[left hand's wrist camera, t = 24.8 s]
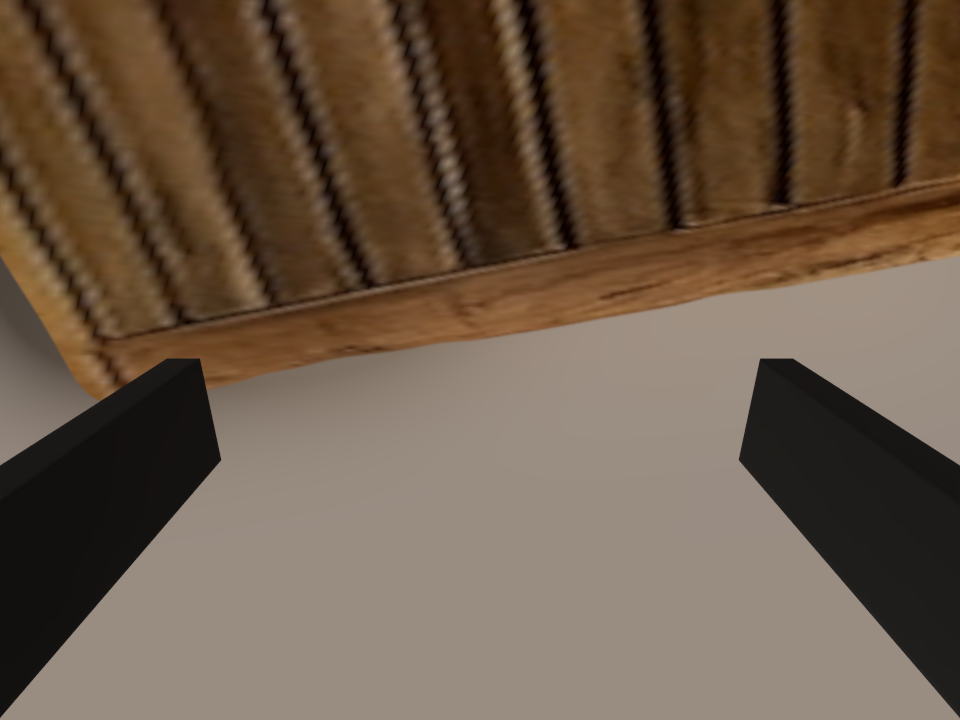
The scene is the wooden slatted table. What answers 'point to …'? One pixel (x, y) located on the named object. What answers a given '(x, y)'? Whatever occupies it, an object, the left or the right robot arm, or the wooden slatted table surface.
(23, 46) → the wooden slatted table surface
